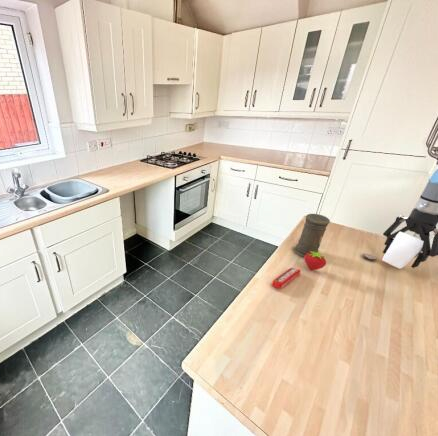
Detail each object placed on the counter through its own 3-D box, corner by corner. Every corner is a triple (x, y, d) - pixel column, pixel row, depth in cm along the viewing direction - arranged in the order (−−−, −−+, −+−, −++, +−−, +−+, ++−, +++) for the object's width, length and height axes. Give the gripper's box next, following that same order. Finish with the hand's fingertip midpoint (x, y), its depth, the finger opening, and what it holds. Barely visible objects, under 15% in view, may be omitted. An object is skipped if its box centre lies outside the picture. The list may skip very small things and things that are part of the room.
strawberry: (318, 278, 95) (327, 258, 90) (298, 269, 100) (305, 249, 95) (324, 271, 98) (332, 251, 93) (304, 262, 103) (311, 243, 99)
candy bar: (291, 270, 100) (293, 264, 98) (300, 274, 97) (302, 269, 95) (269, 286, 92) (270, 280, 90) (278, 292, 89) (280, 286, 88)
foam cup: (399, 269, 93) (425, 241, 89) (373, 255, 101) (395, 229, 97) (409, 272, 97) (433, 245, 93) (383, 259, 105) (404, 233, 101)
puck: (377, 260, 104) (378, 258, 103) (370, 262, 103) (371, 260, 102) (367, 254, 107) (368, 252, 107) (360, 256, 106) (361, 254, 106)
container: (297, 257, 107) (309, 222, 98) (292, 245, 114) (302, 212, 106) (320, 260, 105) (334, 224, 96) (313, 248, 112) (326, 214, 104)
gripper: (387, 200, 97) (364, 246, 108) (464, 226, 79) (427, 278, 89) (399, 197, 99) (376, 243, 110) (477, 222, 81) (440, 274, 91)
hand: (399, 259), depth 100 cm, fingers closed on foam cup, 9 cm apart
